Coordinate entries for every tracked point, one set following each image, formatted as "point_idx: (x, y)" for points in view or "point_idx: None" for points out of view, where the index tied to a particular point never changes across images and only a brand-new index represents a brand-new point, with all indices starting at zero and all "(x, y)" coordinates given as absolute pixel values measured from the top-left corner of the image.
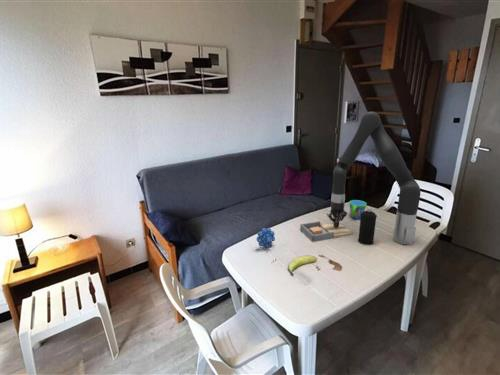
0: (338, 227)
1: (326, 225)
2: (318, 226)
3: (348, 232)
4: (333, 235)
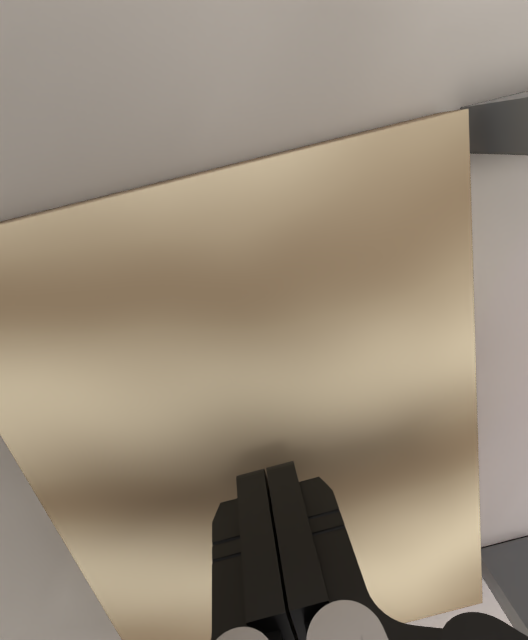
0: (199, 508)
1: (397, 574)
2: (517, 554)
3: (18, 274)
4: (515, 98)
